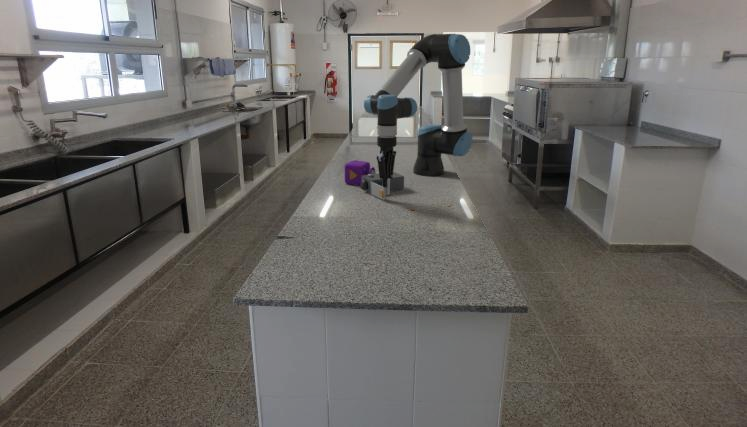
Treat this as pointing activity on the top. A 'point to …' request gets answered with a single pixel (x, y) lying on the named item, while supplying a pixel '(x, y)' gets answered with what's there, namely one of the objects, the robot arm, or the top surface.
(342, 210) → the top surface
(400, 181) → the box
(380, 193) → the side door
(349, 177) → the toy camera
